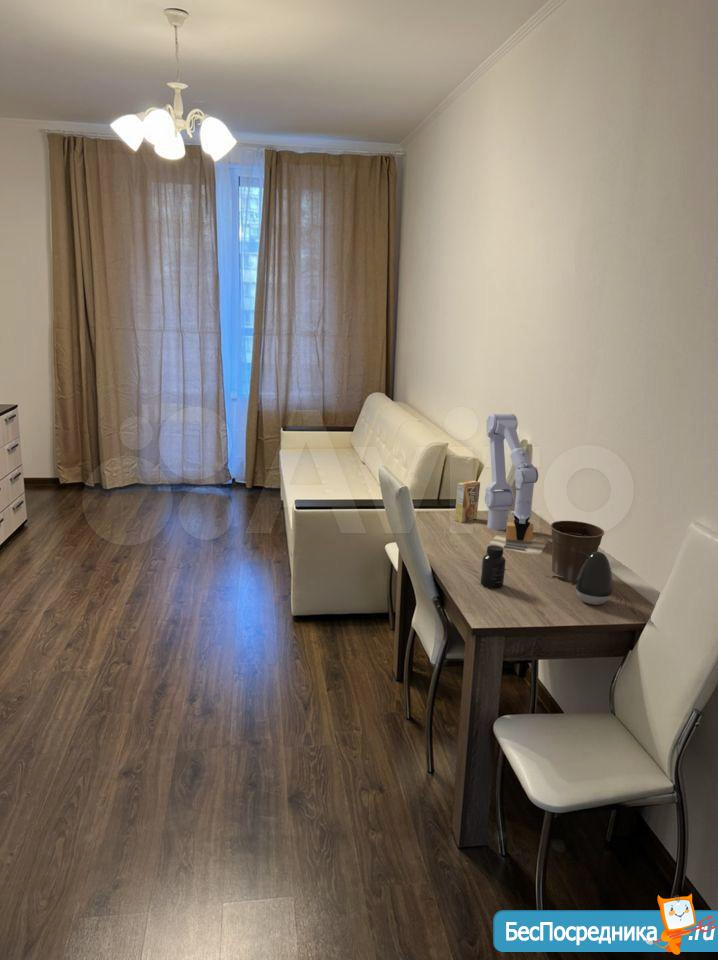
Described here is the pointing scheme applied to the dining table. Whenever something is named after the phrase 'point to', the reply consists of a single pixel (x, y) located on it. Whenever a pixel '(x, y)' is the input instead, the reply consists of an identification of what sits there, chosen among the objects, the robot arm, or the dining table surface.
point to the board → (531, 549)
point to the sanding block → (512, 535)
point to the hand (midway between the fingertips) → (520, 537)
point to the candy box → (467, 501)
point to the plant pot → (572, 547)
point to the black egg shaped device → (594, 579)
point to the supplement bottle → (493, 567)
